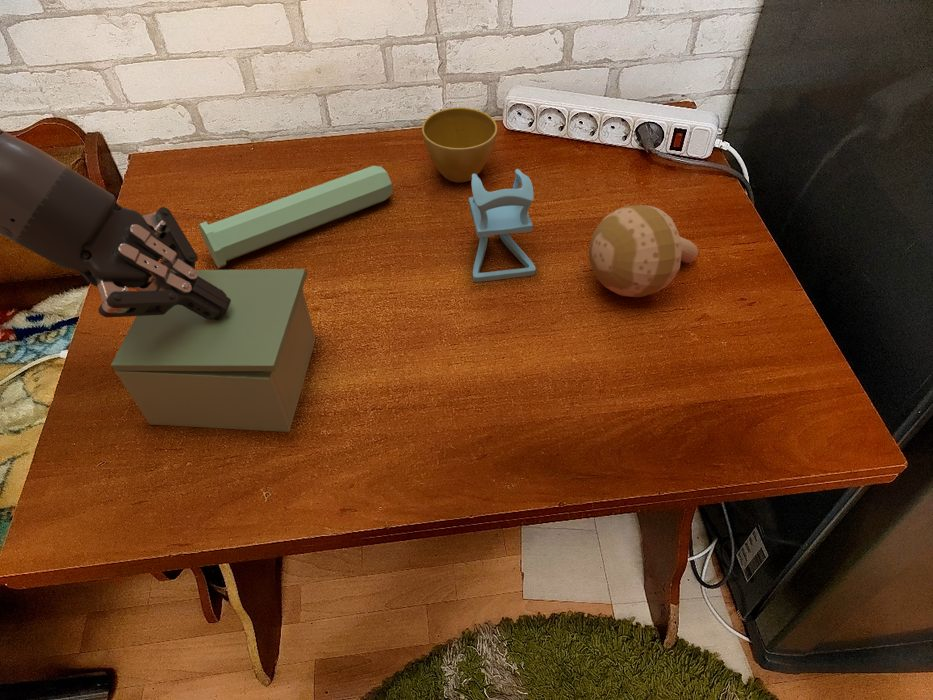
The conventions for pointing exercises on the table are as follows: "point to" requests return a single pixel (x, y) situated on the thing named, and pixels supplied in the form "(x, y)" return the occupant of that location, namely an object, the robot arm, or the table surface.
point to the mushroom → (638, 250)
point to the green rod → (295, 214)
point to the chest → (229, 389)
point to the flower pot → (459, 141)
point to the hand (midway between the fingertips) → (224, 310)
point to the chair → (502, 223)
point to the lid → (219, 327)
